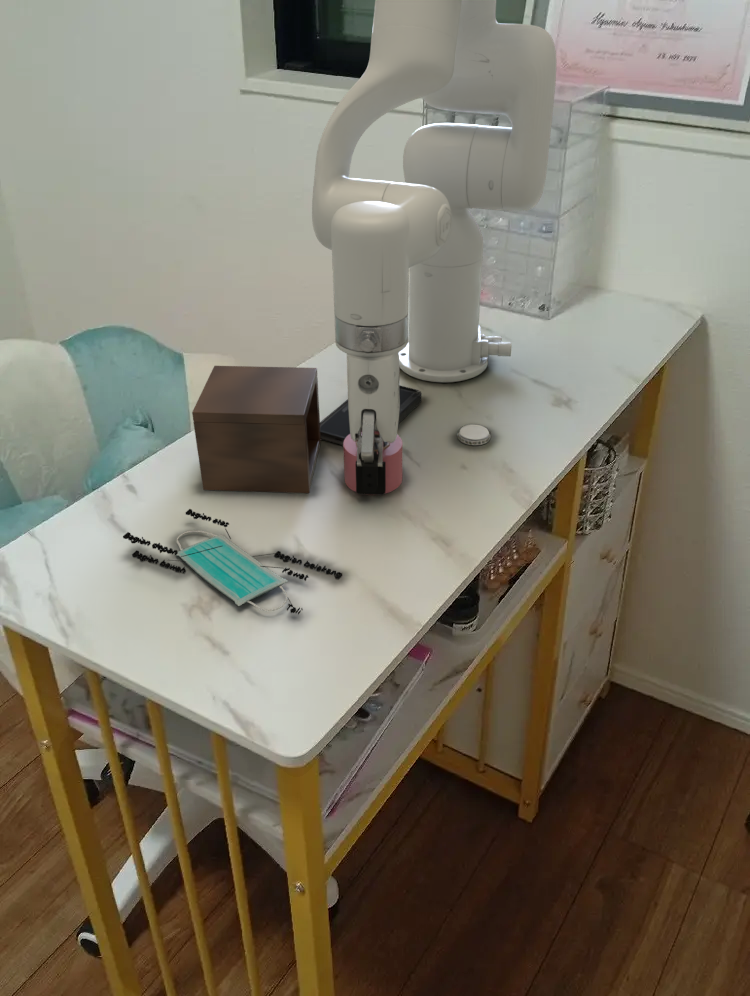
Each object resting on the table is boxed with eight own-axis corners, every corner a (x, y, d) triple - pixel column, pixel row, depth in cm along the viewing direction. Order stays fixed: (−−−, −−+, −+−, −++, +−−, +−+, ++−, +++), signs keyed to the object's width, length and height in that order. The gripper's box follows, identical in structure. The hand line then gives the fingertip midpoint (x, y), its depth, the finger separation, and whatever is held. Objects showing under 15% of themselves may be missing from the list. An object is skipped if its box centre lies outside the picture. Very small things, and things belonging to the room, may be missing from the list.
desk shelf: (321, 441, 110) (317, 367, 104) (309, 493, 101) (304, 415, 95) (223, 439, 111) (214, 365, 105) (203, 490, 102) (191, 412, 96)
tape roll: (403, 464, 106) (404, 427, 103) (400, 496, 100) (401, 458, 97) (347, 462, 106) (346, 426, 103) (341, 494, 101) (340, 456, 98)
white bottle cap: (452, 440, 109) (452, 436, 109) (464, 425, 112) (464, 421, 112) (483, 447, 108) (484, 443, 108) (495, 432, 111) (495, 427, 111)
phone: (424, 391, 117) (367, 444, 107) (424, 399, 118) (367, 452, 107) (371, 378, 121) (311, 428, 110) (371, 385, 121) (311, 436, 111)
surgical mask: (110, 535, 88) (173, 482, 95) (118, 569, 90) (179, 515, 98) (291, 597, 80) (345, 534, 87) (295, 632, 83) (347, 568, 90)
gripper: (404, 367, 85) (402, 521, 96) (411, 296, 100) (409, 436, 110) (325, 365, 86) (332, 518, 96) (343, 295, 100) (347, 435, 110)
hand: (373, 473), depth 103 cm, fingers closed on tape roll, 6 cm apart
